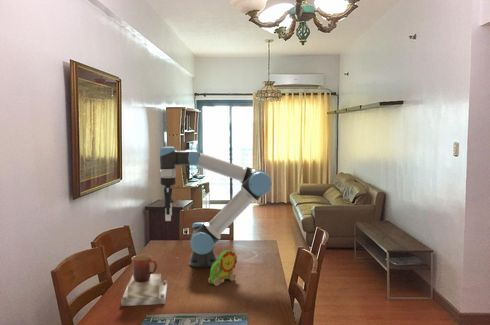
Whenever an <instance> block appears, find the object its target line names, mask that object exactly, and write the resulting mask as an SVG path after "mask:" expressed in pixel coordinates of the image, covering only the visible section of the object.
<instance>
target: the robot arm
mask: <svg viewBox="0 0 490 325" xmlns="http://www.w3.org/2000/svg"><path fill="white" fill-rule="evenodd" d="M159 150H160V151H159V152H160V153H159V154H160V155H159V165H160V166H159V168H160V170H158V173H160V185H161V186H165V187H164V188H163V191H164V197H165V198H164V206H163V209H164V219H165V220H164V221H165V222H171V221H172V216H173V206H172V203H174V200H173V198H172V195H173V188H172V186H174V185H176V166H195V167H198V168H201V169H204V170H207V171H210V172H213V173H216V174H218V175H221V176H224V177H227V178H230V179H232V180H235V181H238V182H240V184H241V185H240V187H241V188H240V190H239V191H238V192H237V193H236V194H235V195H234V196H233V197H232V198H231V199H230V200H229V201H228V203H226V204H225V205H224V206H223V207H222V208H221V209H220V211H219V212H217V213H216V215H215V216H213V218H212V219H211V220H209V221H206V222H205V221H202V222H199V221H198V222H193V223H192V227H191V229H192V235H191V237H190V239H189V240H190V247H191V249H192V252H191V254H190V258H189V265H190V266H191V267H194V268H205V269H206V268H211V267H212V265H213V263H214V262H216V261H217V259H218V257H217V255H216V253H215V245H216V244H217V242H219V240H221V234H222V233H223V232H224V231H225V230H227V228H229V227H230V226H231V224H232V223H233V222H234V221H235V220H236V219H237V218H238V217H239V216H240V215H241V214H242V213H243V212H244V211H245V210H246V209H247V208H248V207H249V206H250V205H251V204H252V203H253V202H258V201H259V200H260V199H261V198H262V197H263V196H265V195H267V194H268V193H269V192H270V190H271V188H272V178H271V177H270V175H269V174H268V173H267V172H265V171H264V170H262V169H258V168H253V167H249V166H245V167H243V166H240V165H238V164H234V163H231V162H229V161H225V160H222V159H219V158H217V157H213V156H210V155H208V154H205V153H203V152H202V153H201V152H199V151H198V150H195V149H192V148H187V149H185V150H176V148H175V147H174V146H162V147H161V148H160V149H159Z"/></svg>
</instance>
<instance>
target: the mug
mask: <svg viewBox="0 0 490 325" xmlns="http://www.w3.org/2000/svg"><path fill="white" fill-rule="evenodd" d="M152 258H153V256H152V255H150V254H137V255H134V256H132V257H131V262H132V265H133V267H132V268H133V271H132V273H133V274H132V275H133V278H134V280H135V281H136V282H146V281H148V280H149V279H150V275H151V274H155V273H156V271H157V269H158V262H157V260H155V259H152ZM151 263H153V264H154V267H153V270H151Z"/></svg>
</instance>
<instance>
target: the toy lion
mask: <svg viewBox="0 0 490 325" xmlns="http://www.w3.org/2000/svg"><path fill="white" fill-rule="evenodd" d="M237 258H238V257H237V254H236V253H235V251H232V250H231V249H230V250H229V249H227V250H225V249H224V250H223V251H222V252H220V253H219V255H218V257H217V261H216V262H214V263H213V265H212V267H210V271H209V278H208V284H210V285H214V286H215V287H218V286H220V284H221V281H222V280H229V281H230V282H234V281H235V279H236V278H237V277H236V273H233V270H234V269H235V267H236V266H237V263H238V260H237ZM218 267H219V270H218V271H217V268H218ZM216 271H217V272H216Z"/></svg>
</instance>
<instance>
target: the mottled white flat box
mask: <svg viewBox="0 0 490 325" xmlns="http://www.w3.org/2000/svg"><path fill="white" fill-rule="evenodd" d="M125 288H126V289H125V291H124V292H123V294H122V297H121V300H120V301H121V302H120V303H121V307H125V306H126V307H129V306H147V305H148V306H149V305H162V304H164V305H165V304H166V299H167V293H168V292H167V291H168V281H167V280H163V281H162V273H153V274H151V275H150V279H149V280H148V281H146V282H136V281H135V280H134V278H133V274H132V275H131V278H130V280H129V282H127V286H126V287H125Z"/></svg>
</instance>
